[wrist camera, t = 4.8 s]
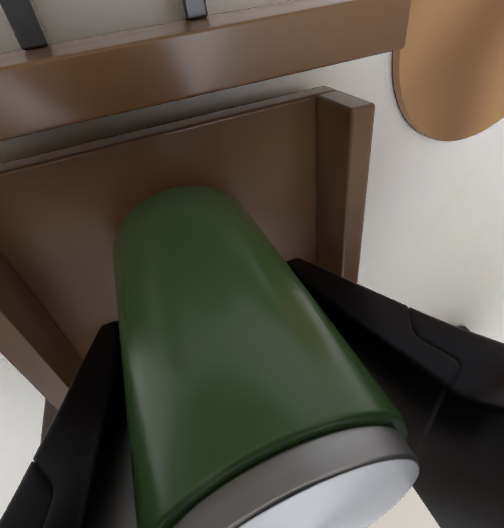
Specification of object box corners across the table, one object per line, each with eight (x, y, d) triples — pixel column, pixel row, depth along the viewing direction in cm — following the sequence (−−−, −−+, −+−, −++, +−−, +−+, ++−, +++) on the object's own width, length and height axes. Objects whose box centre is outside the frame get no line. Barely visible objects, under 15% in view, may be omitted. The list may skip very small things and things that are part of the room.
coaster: (635, -161, 12) (649, -165, 11) (530, 114, 17) (538, 116, 17) (415, -138, 10) (425, -143, 10) (379, 160, 16) (385, 163, 15)
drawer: (-392, -180, 5) (-816, -341, 3) (340, -213, 8) (457, -314, 5) (92, 401, 17) (93, 470, 14) (327, 309, 20) (362, 355, 17)
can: (245, 166, 10) (470, 401, 4) (261, 280, 13) (406, 513, 7) (85, 211, 9) (77, 594, 3) (142, 322, 12) (192, 631, 6)
